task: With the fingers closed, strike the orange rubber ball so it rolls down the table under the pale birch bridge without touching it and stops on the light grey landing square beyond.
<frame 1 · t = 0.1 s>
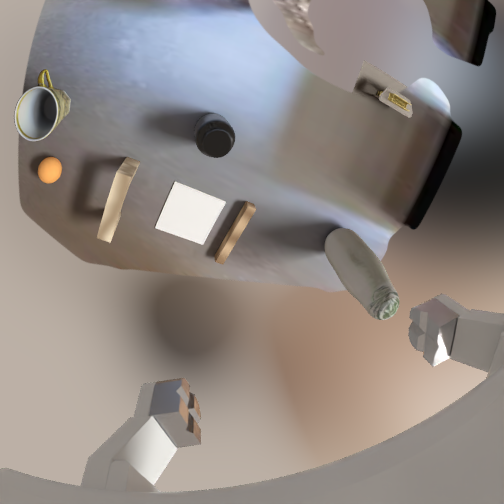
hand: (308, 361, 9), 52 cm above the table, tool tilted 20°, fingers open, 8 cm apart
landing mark: (189, 214, 62), on the table
ceramic cup: (58, 98, 40), on the table
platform: (385, 98, 54), on the table
ball: (49, 170, 46), on the table
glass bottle: (335, 237, 74), on the table
supplement bottle: (211, 129, 52), on the table
bridge: (122, 189, 55), on the table
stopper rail: (233, 231, 67), on the table
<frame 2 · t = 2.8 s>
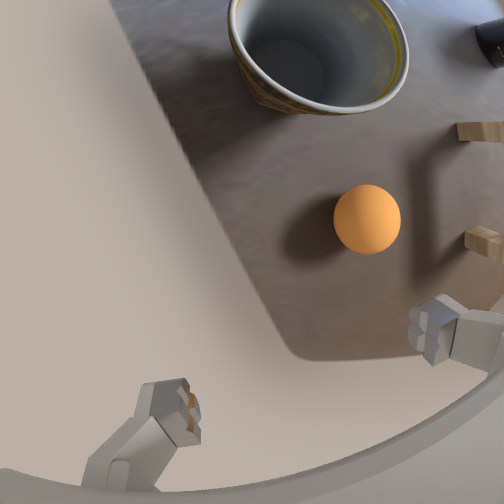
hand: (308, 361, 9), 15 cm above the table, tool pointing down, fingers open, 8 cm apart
ceramic cup: (274, 61, 19), on the table
ball: (367, 219, 21), on the table
supplement bottle: (488, 46, 20), on the table
bridge: (471, 185, 25), on the table
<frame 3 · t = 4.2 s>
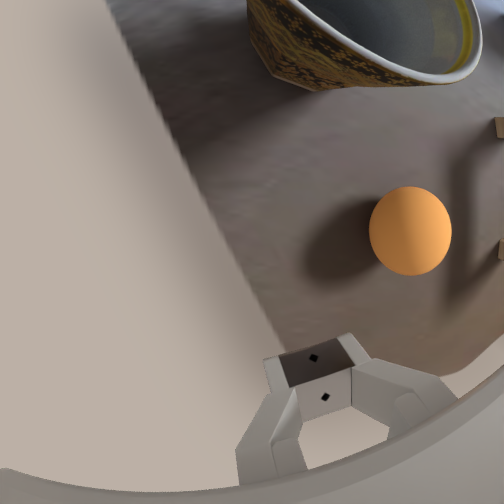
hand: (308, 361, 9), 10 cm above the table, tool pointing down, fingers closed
ceramic cup: (292, 27, 14), on the table
ball: (410, 230, 16), on the table
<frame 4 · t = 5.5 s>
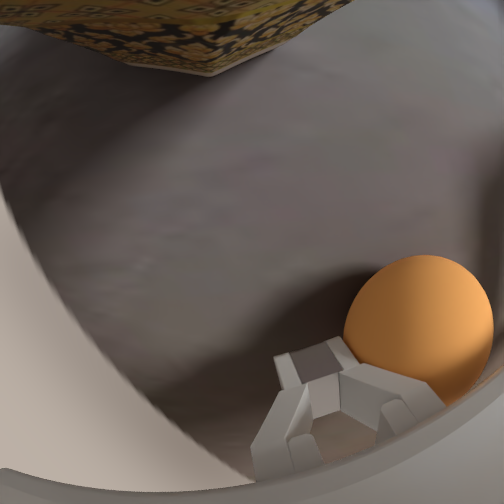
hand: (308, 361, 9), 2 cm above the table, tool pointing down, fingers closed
ball: (419, 336, 8), on the table, touching gripper
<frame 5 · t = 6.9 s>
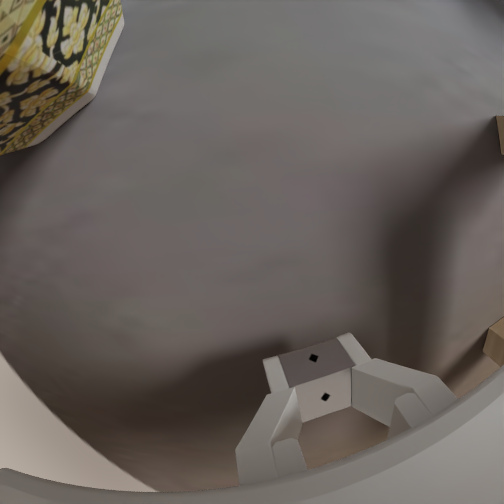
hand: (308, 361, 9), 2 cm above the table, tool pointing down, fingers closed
ceramic cup: (36, 37, 6), on the table
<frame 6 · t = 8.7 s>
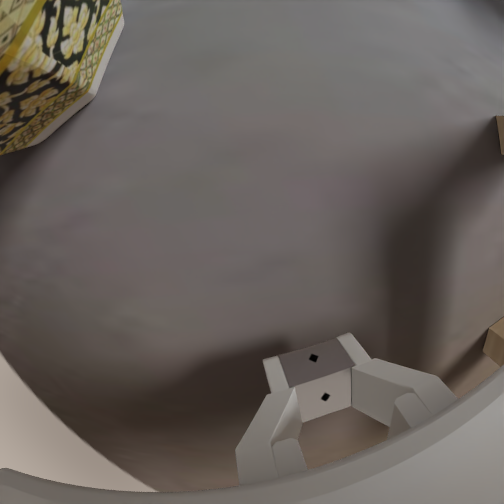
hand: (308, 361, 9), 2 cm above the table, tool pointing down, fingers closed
ceramic cup: (36, 37, 6), on the table
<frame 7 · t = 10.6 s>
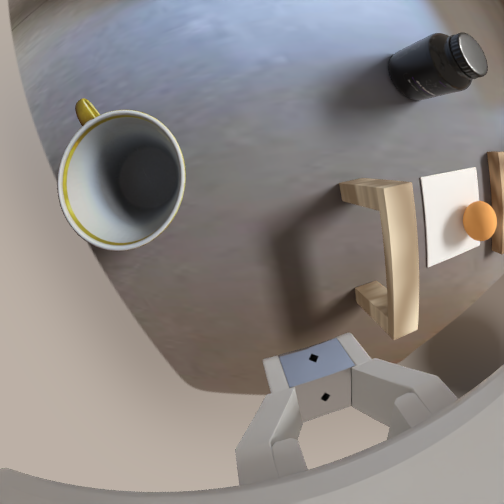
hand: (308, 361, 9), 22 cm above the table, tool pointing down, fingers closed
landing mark: (454, 214, 32), on the table
ceramic cup: (142, 165, 27), on the table
ball: (479, 221, 30), on the table
supplement bottle: (407, 77, 27), on the table
bridge: (361, 243, 31), on the table
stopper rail: (494, 201, 32), on the table
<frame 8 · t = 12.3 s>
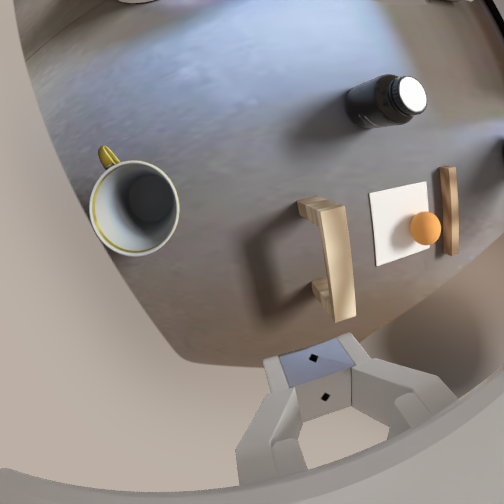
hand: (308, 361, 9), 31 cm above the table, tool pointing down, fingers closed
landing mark: (402, 222, 42), on the table
ceramic cup: (146, 188, 36), on the table
ball: (425, 228, 40), on the table
supplement bottle: (363, 107, 36), on the table
bridge: (315, 246, 41), on the table
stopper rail: (446, 210, 43), on the table
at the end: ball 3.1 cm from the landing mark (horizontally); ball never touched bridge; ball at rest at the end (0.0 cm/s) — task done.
